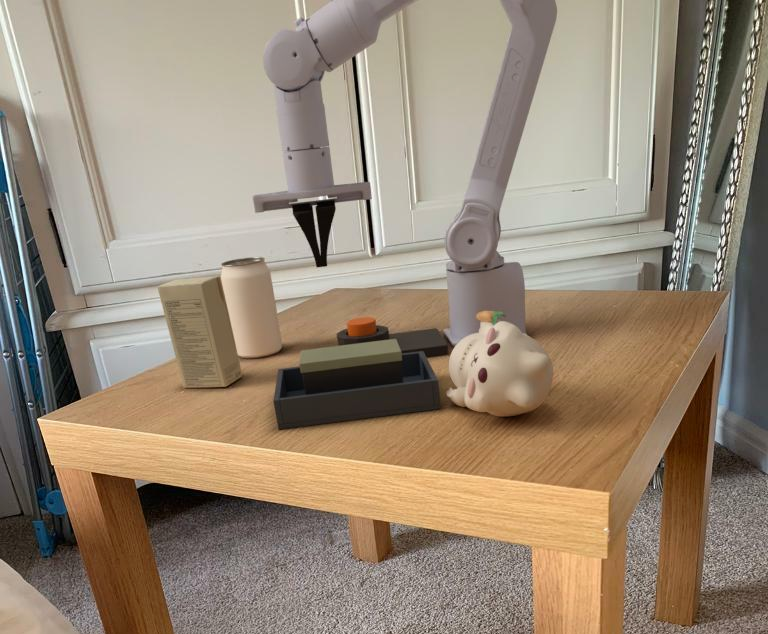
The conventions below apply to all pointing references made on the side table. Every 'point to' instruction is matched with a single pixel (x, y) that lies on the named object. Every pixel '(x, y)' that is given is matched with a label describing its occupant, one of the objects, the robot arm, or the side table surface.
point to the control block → (402, 340)
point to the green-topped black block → (351, 366)
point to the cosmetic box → (200, 331)
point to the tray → (356, 396)
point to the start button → (361, 326)
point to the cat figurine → (499, 369)
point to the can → (251, 307)
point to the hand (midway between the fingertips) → (321, 265)
